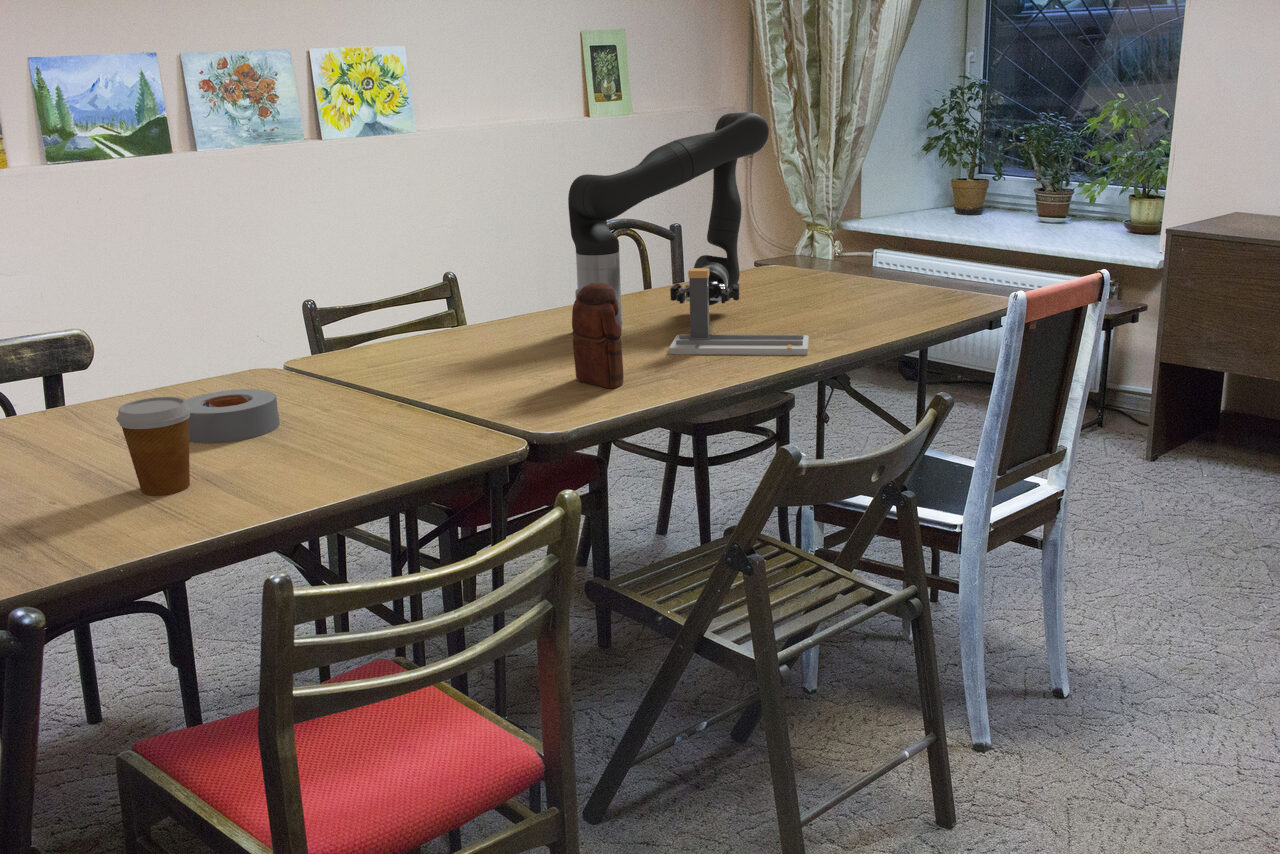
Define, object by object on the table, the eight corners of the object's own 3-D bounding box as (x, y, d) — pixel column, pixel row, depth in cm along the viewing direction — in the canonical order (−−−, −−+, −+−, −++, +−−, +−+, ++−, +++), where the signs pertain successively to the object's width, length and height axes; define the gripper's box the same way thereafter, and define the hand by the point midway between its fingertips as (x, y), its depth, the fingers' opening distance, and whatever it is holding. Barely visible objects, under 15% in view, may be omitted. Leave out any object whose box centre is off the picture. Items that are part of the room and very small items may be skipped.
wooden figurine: (636, 384, 208) (632, 284, 203) (609, 391, 204) (605, 289, 199) (593, 373, 217) (588, 277, 211) (566, 380, 213) (561, 282, 207)
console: (668, 354, 229) (668, 344, 229) (677, 340, 241) (676, 330, 241) (807, 355, 225) (807, 345, 224) (808, 340, 237) (808, 331, 237)
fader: (689, 342, 232) (687, 271, 228) (691, 337, 236) (689, 268, 232) (709, 342, 232) (707, 271, 228) (710, 337, 236) (710, 267, 232)
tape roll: (180, 424, 193) (176, 394, 192) (276, 412, 198) (272, 383, 197) (181, 449, 179) (176, 418, 178) (283, 436, 185) (279, 405, 183)
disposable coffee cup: (113, 496, 159) (98, 411, 156) (163, 474, 168) (150, 393, 164) (168, 503, 156) (154, 416, 152) (217, 480, 164) (205, 398, 161)
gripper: (676, 267, 252) (666, 280, 236) (742, 266, 249) (737, 279, 234) (677, 301, 254) (667, 316, 238) (742, 301, 252) (737, 316, 236)
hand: (702, 298), depth 236 cm, fingers open, 8 cm apart
